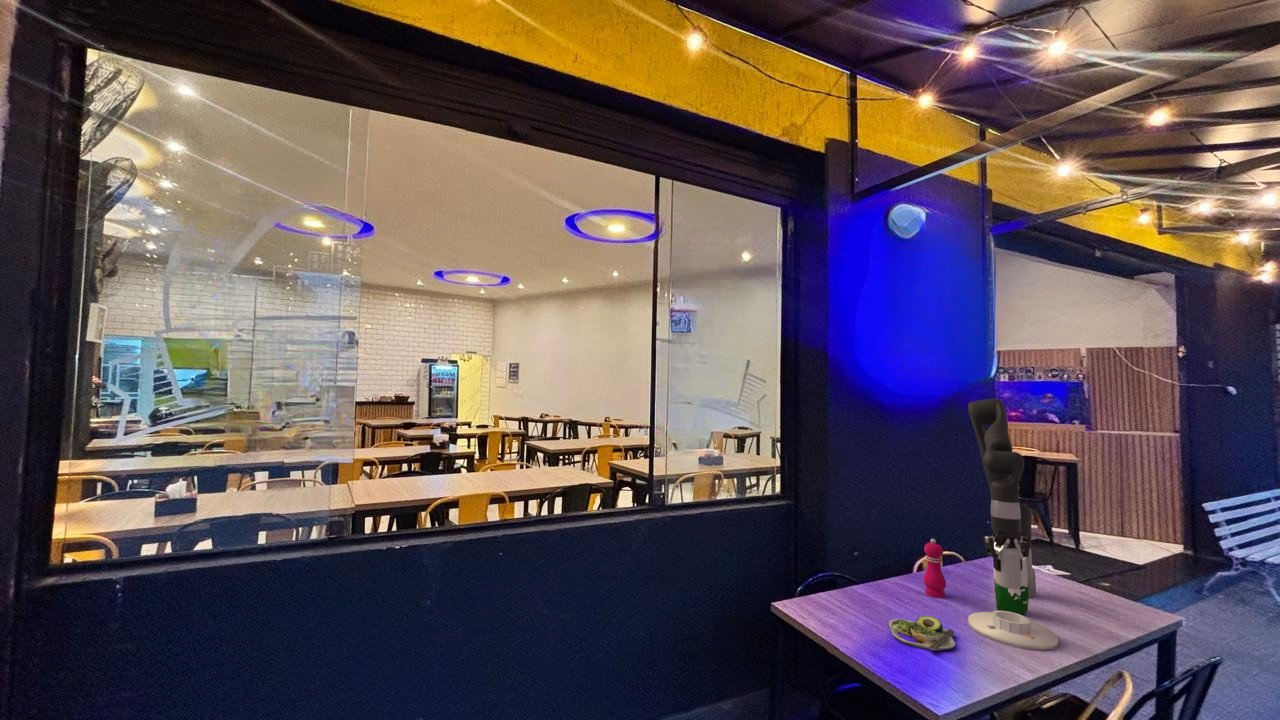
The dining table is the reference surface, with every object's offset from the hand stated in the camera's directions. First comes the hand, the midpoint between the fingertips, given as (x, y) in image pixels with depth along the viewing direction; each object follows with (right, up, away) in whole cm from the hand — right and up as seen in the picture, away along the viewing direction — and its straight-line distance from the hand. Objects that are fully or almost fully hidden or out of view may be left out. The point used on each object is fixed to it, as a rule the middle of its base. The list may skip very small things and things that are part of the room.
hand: (1008, 570), depth 152 cm
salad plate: (-30, -18, -6) cm, 35 cm away
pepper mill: (-6, -21, +28) cm, 35 cm away
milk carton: (+12, -20, +14) cm, 28 cm away
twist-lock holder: (0, -18, -2) cm, 18 cm away
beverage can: (0, -5, -1) cm, 5 cm away
